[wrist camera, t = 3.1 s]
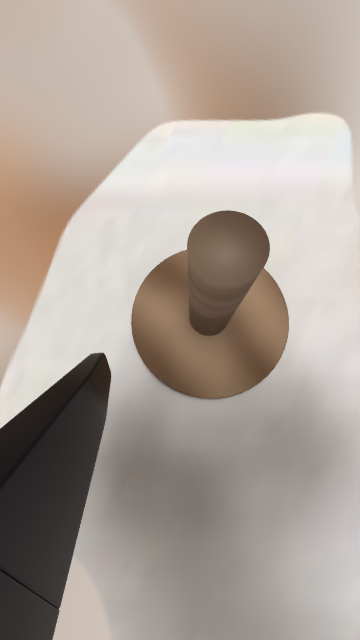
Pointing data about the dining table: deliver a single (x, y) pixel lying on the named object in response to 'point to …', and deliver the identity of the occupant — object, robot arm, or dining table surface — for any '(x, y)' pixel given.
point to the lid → (213, 311)
